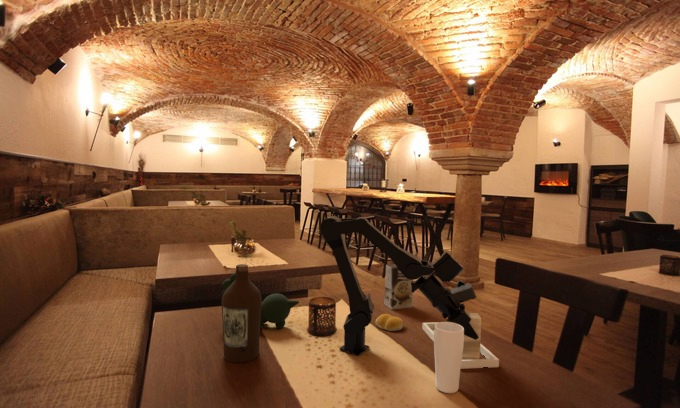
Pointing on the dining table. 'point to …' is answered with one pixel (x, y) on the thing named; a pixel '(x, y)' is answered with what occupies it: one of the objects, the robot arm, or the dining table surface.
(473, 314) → the maple block
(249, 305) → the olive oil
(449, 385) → the drinking glass
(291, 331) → the dining table surface
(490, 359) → the box
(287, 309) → the toy figurine
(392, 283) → the white cardboard box
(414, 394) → the dining table surface
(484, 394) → the dining table surface
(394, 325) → the bread roll
